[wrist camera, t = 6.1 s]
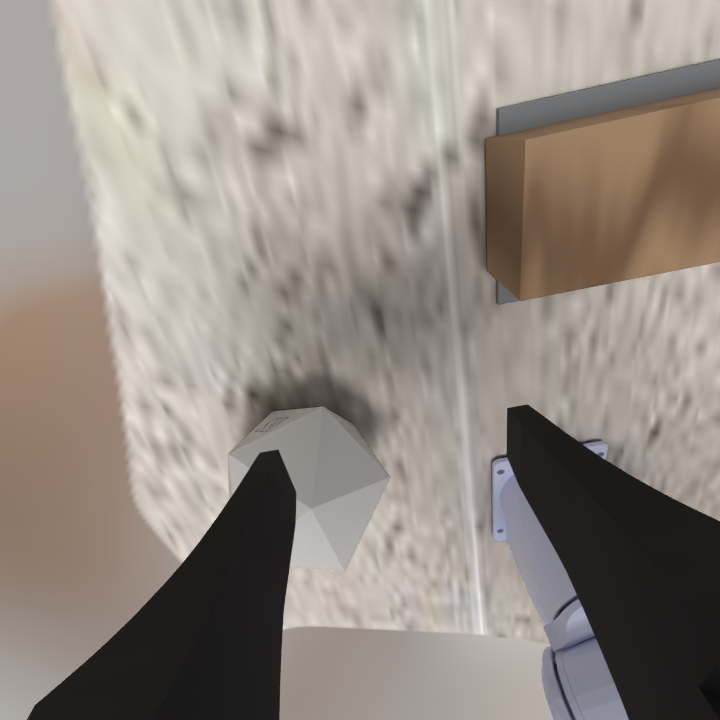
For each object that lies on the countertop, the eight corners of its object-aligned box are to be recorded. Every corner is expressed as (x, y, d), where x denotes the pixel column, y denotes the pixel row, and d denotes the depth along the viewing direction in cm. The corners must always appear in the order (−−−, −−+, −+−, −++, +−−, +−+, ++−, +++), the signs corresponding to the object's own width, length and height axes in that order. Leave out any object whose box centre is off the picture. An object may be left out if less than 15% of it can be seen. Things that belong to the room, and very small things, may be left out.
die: (310, 345, 22) (162, 472, 16) (437, 437, 21) (329, 620, 14) (292, 415, 29) (183, 525, 22) (388, 489, 27) (299, 630, 21)
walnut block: (487, 271, 19) (686, 231, 19) (519, 301, 16) (764, 252, 15) (485, 138, 16) (723, 86, 16) (525, 140, 13) (831, 72, 12)
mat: (694, 263, 20) (699, 265, 20) (496, 302, 21) (498, 304, 20) (754, 51, 15) (761, 49, 15) (496, 108, 16) (499, 108, 16)
